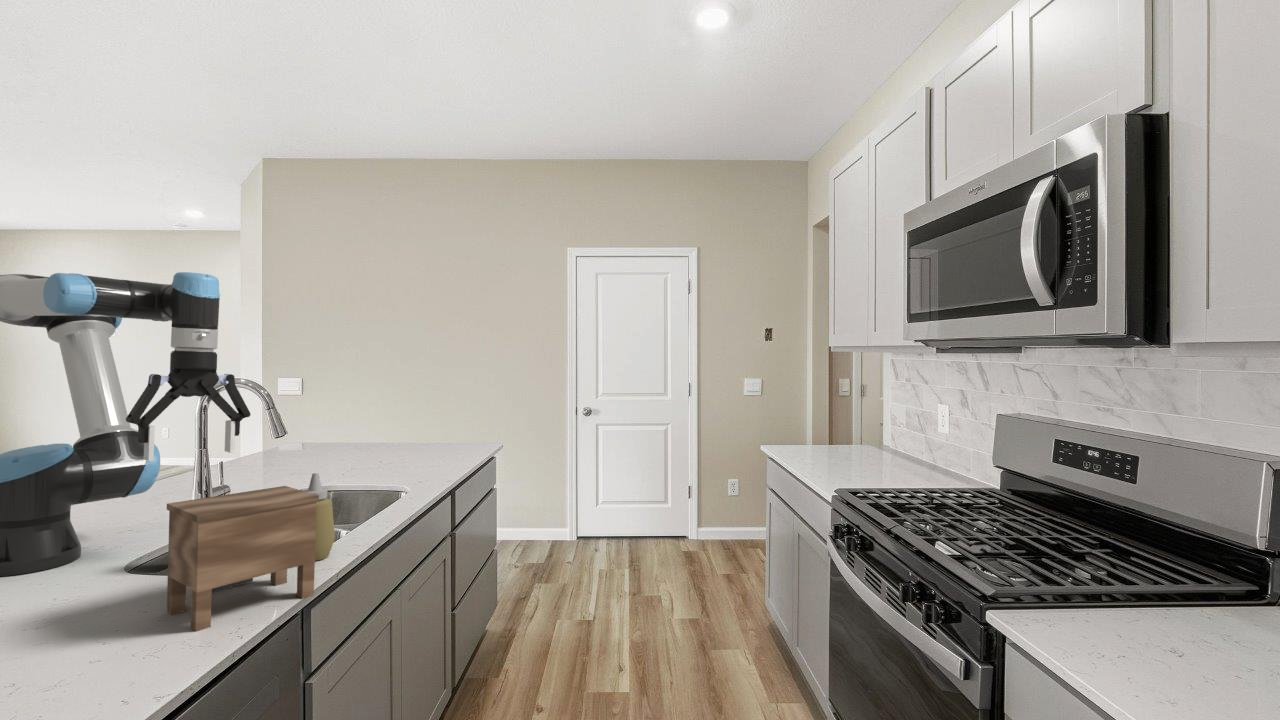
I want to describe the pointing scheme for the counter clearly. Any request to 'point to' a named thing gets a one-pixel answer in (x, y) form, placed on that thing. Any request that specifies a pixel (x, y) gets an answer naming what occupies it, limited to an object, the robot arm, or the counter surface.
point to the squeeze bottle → (322, 519)
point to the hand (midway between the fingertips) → (190, 455)
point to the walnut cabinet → (238, 544)
